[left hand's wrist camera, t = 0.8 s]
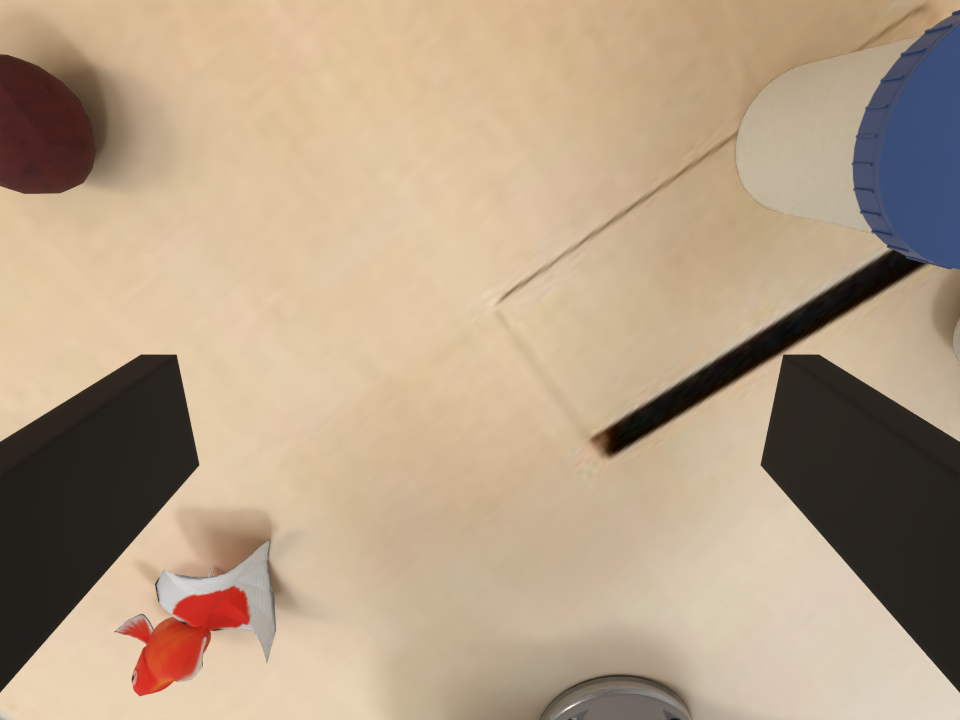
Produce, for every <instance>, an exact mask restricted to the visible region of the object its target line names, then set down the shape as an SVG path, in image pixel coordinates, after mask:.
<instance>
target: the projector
mask: <svg viewBox="0 0 960 720" xmlns="http://www.w3.org/2000/svg"><path fill="white" fill-rule="evenodd" d="M953 348H954V353H955V356H956V359H957V361H958V364H959V365H960V319H959V321H958V323H957V325H956V328H955V331H954V335H953Z"/></svg>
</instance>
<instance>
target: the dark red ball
mask: <svg viewBox="0 0 960 720" xmlns="http://www.w3.org/2000/svg"><path fill="white" fill-rule="evenodd" d="M94 156H95V145H94V139H93V134H92V128H91V123H90V121H89V119H88V117H87V115H86V113H85V111H84V109H83V107H82V105H81V103H80V101H79V99H78V97H77V96H76V95H74V94H73V93H72V92H71V91H70V90H69V89H68V88H67V87H66V86H65V85H64V84H63V83H62V82H61V81H60V80H58V79H57V78H55V77H54V76H52V75H51V74H49V73H48V72H46V71H45V70H43V69H42V68H40V67H39V66H37V65H34V64H32V63H29V62H26V61H24V60H21V59H18V58H15V57H12V56H9V55H1V54H0V186H2V187H5V188H8V189H11V190H14V191H17V192H21V193H24V194H46V193H62V192H64V191H67V190H69V189H71V188H73V187H76V186H78V185H80V184H82V183H84V181H85V180H86V178H87V176H88V175H89V173H90V172H91V170H92V168H93V162H94Z"/></svg>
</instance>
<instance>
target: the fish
mask: <svg viewBox="0 0 960 720" xmlns="http://www.w3.org/2000/svg"><path fill="white" fill-rule="evenodd" d="M269 544H270V540H268V541H267V542H265V543H264V544H262V545H261V546H260V547H259V548H258V549H257V550H256V551H255V552H254V553H253V554H251V555H250V556H249V557H248V558H247V559H246V560H244V561H243V562H242V563H240V564H239V565H238V566H236V567H235V568H233V569H232V570H230V571H229V572H227V573H226V574H223V575H218V576H213V577H210V576H211V572H212V568H211V570H210V573H209V575H208V577H188V576H182V575H176V574H173V573H171V572H169V571H167V570H165V569H164V570H163V572H162V573H161V575H160V577H159V578H158V580H157V582H156V583H155V587H156V592H157V597H158V601H159V603H160V604H161V605H162V607H163V608H164V609H165V610H166V611H167V612H168V613H170V614H171V615H172V616H173V617H171V618H168V619H166V620H164V621H163V622H161V623H160V624H159V625H158V626H157V627H156V628H155V629H153V627H152V625H151V623H150V622H149V620H148V619H147V617H146V616H145V615H144V614H140V615H137V616H135V617H133V618H131V619H129V620H128V621H126V622H125V623H124V624H123V625H122V626H121V627H120V628H119V629H117V630H116V631H115V632H118V633H121V634H124V635H129V636H132V637H135V638H138V639H139V640H141V641H142V642H144V643H146V644H147V645H146V647H144V648H143V650H142V652H141V655H140V657H139V660H138V662H137V665H136V667H135V669H134V672H133V675H132V684H133V689H134V691H135V692H136V693H137V694H138V695H139V696H143V695H147V694H152V693H155V692H159V691H161V690H163V689H165V688H167V687H168V686H169V685H170V684H171V683H173V682H174V681H177V682H185V681H189V680H192V679H193V678H194V677H195V676H196V675H197V674H198V672H199V671H200V669H201V668H202V666H203V662H202V657H203V653H204V652H205V650H206V649H207V647H208V644H209V642H210V639H211V632H210V630H212V631H216V630H224V629H232V628H238V629H243V630H252V631H253V632H254V633H255V634H256V636H257V637H258V639H259V641H260V642H261V645H262V648H263V651H264V654H265V657H266V663H267V661H268V658H269V654H270V650H271V647H272V643H273V639H274V635H275V632H276V623H275V604H274V594H273V589H272V584H271V578H270V573H269V567H268V561H267V560H268V554H269Z"/></svg>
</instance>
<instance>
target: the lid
mask: <svg viewBox="0 0 960 720" xmlns="http://www.w3.org/2000/svg"><path fill="white" fill-rule="evenodd" d="M900 55H901V57H900V58H899V59H898V60H897V61H896V62H895V63H894V65H893V66H892V67H891V68H890V70H889V71H888V72H887V74H886V75H885V76H884V78H882V79H881V80H880V81H881V83H880V84H879V86H878V87H877V89H876V91H875V92H874V94H873V96H872V98H871V100H870V102H869V104H868V106H867V107H866V108H865V109H866V110H865V113H864V115H863V118H862V121H861V124H860V127H859V130H858V134H857V135H856V137H855V138H856V142H855V147H854V156H853V163H852V165H853V183H854V189H853V191H855V195H856V199H857V202H858V205H859V208H860V210H861V211H860V214H863V216H864V218H865V221H866V222H867V224H868V225H869V226H870V228H871V229H872V231H871V232H872V233H874V234H876V235H877V236H878V237H879V238H880V239H881V240H882V241H883V242H884V243H885V244H887V245H888V246H887V248H890V249H894V250H895V251H898V252H900V253H902V254H904V255H906V258H909V259H912V260H916V261H920V262H924V263H927V264H932V265H936V266H940V267H943V268H947V269H951V268H955V269H960V10H958V11H955V12H953V13H952V16H950V17H948V18H946V19H945V20H943V21H941V22H940V23H938V24H937V25H936V26H934V27H933V28H931V29H927V30H926V31H925V34H923V35H922V36H921V37H920V38H919V39H918V40H917V41H916V42H914V43H913V44H912V45H911V46H910V47H909V48H908V49H907V50H906V51H905V52H902V53H901V54H900Z"/></svg>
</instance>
